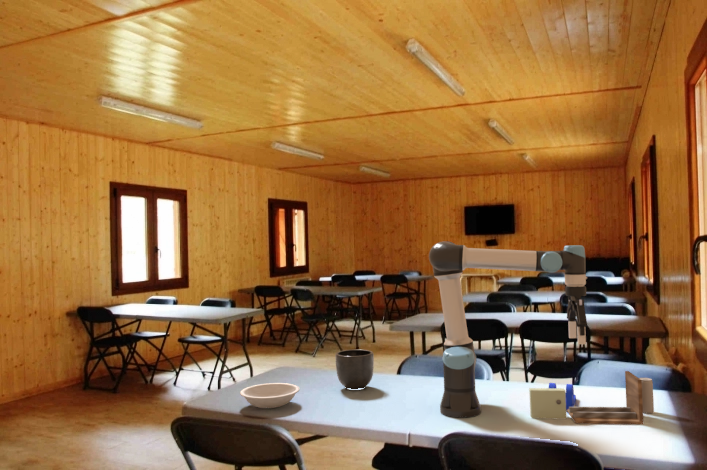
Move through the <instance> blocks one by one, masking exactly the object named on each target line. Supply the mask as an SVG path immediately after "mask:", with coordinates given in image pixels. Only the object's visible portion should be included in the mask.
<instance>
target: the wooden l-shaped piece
mask: <svg viewBox="0 0 707 470" xmlns="http://www.w3.org/2000/svg"><path fill="white" fill-rule="evenodd" d="M624 377H625V400H626V401H625V402H626V403H625V404H626V405H625V406H574V407H569V409H567V410H566V413H568V415H569V417H571V419H572V420H573V421H574V423H575V424H589V425H590V424H595V425H597V424H599V425H601V424H603V425H605V424H606V425H644V413H643V401H642V380H641V379H639V378H640V377H638V376H636V375H635V374H633V373H632V372H630V371H629V370H624Z"/></svg>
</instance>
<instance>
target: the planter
mask: <svg viewBox="0 0 707 470" xmlns="http://www.w3.org/2000/svg"><path fill="white" fill-rule="evenodd" d="M334 355H335V370H336V375H337V378H338V381H339V382H340V385H342V386H343V387H344V388H345V387H346V388H351V389H358V388H364V387H366V388H367V386H368V385H369V384H370V382H371V381H372V379H373V376H374V367H375V366H374V365H375V360H374V359H375V355H374V352H373V351H372V350H369V349H359V348H358V349H356V348H355V349H343V350H340V351H337V352H335V354H334ZM346 388H345V389H346Z"/></svg>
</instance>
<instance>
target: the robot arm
mask: <svg viewBox="0 0 707 470" xmlns="http://www.w3.org/2000/svg"><path fill="white" fill-rule="evenodd" d="M585 251H586V250H585V247H584V246H583V245H581V244H580V245H579V244H578V245H577V244H576V245H564V247H563V249H562V250H524V249H523V250H521V249H518V250H517V249H503V248H502V249H501V248H500V249H498V248H497V249H496V248H478V247H477V248H476V247H475V248H474V247H467V246H466V245H464V244H456V243H453V242H452V241H448V240H447V241H439V242H437V243H435V244H434V245H432V247H431V248H430V250H429V253H428V260H429V263H430V265H431V266H432V272H433V277H434V278H435V279H436V280H438V286H439V293H440V301H441V308H442V314H443V320H444V321H443V322H444V327H445V334H446V335H445V336H446V340H445V341H444V343H443V348H444V351H443V353H442V363H443V365H442V366H443V368H442V369H443V394H442V397H441V402H440V404H439V407H440V408H439V411H440V413H441V414H443V416H448V417H454V418H471V417H477V416H479V415H480V414H481V413H482V408H481V403H480V400H479V398H478V395H477V392H476V372H475V371H476V370H475V369H476V365H477V355H476V352H475V347H474V340H473V339H472V338H471V337H469V331H468V327H467V319H466V313H465V306H464V299H463V291H462V284H461V277H462V275H463V271H465V270H466V269H483V270H484V269H486V270H500V271H501V270H505V271H510V270H511V271H527V272H528V271H529V272H542V273H543V272H546V273H550V274H551V273H553V274H554V273H557V272H558V271H564V284H565V285H566V286H565V287H564V290H565V292H564V294H565V296H566V297H567V299H568V302H567V311H566V312H567V313H566V319H567V321H568V338H569V339H577V345H586V344H587V336H586V334H587V333H586V326H588V322H587V315H586V308H585V300H584V299H582V297H585V296H587V287H586V286H585V285H586V284H587V281H586V280H587V279H588V276H586V272H587V271H586V252H585Z"/></svg>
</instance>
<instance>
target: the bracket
mask: <svg viewBox="0 0 707 470" xmlns="http://www.w3.org/2000/svg"><path fill="white" fill-rule="evenodd" d="M565 385H566V386H565V394H566V411H567V409H569V407H575V405H576V402H577V399H576V398H577V396H576V395H575V394H574V393H575V392H574V390H575V389H574V384H572V383H566V384H565ZM548 388H557V384H556V382H549V383H548Z"/></svg>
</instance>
